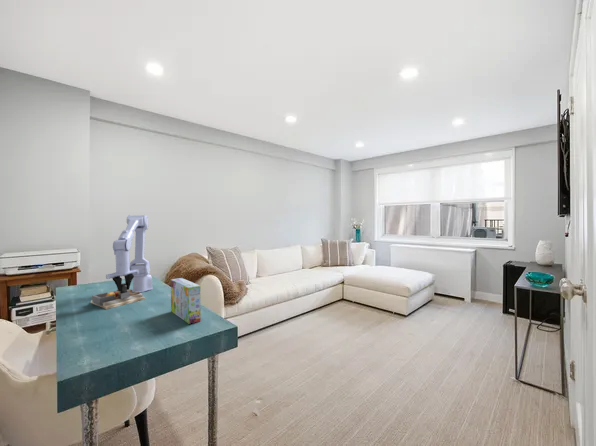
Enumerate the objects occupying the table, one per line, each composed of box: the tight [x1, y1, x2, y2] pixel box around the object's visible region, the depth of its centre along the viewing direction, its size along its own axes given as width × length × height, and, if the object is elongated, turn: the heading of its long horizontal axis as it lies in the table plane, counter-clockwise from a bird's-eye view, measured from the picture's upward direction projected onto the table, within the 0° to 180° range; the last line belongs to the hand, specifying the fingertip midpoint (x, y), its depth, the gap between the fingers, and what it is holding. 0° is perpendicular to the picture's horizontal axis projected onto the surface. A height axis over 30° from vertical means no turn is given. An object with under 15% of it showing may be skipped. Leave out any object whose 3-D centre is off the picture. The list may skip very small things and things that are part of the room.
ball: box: [107, 291, 116, 297], centre depth 143 cm, size 4×4×4 cm
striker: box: [113, 283, 130, 299], centre depth 143 cm, size 4×10×8 cm, turn 55°
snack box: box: [170, 277, 202, 325], centre depth 122 cm, size 21×6×15 cm, turn 43°
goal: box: [91, 292, 115, 305], centre depth 140 cm, size 6×9×3 cm
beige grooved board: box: [90, 289, 146, 310], centre depth 145 cm, size 18×18×3 cm
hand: (123, 290), depth 141 cm, fingers closed on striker, 3 cm apart
